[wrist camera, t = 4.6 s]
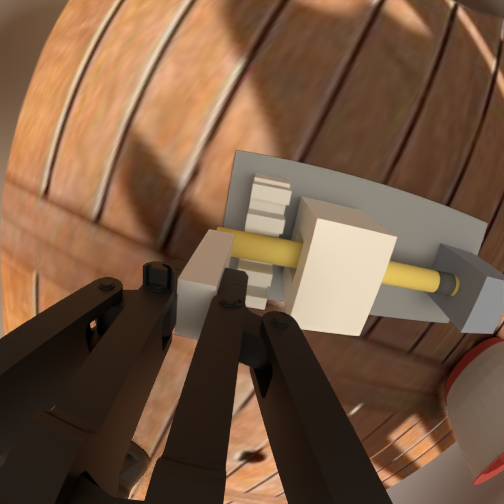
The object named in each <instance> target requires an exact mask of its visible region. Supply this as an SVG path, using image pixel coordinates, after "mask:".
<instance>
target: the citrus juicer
mask: <svg viewBox="0 0 504 504" xmlns="http://www.w3.org/2000/svg"><path fill="white" fill-rule="evenodd" d="M445 400H446V405H447V409H448V415H449V420H450V423H451V427H452V430H453V433H454V435H455V438H456V440H457V442H458V444H459V446H460V449H461V451H462V453H463V455H464V458H465V460H466V462H467V465H468V467H469V470H470V472H471V474H472V477H473V479H474V481H473V484H474V485H477V484H480V483H482V482H484V481H486V480H488V479H490V478H491V477H493V476H495V475H496V474H498V473H499V472H501V471H502V470H504V339H501V338H497V337H493V338H489V339H487V340H485V341H483V342H481V343H480V344H478V345H477V346H475V347H474V348H473V349H471V350H470V351H469V352H467V353H466V354H465V355H464V356H463V357H462V359H461V360H460V361H459V363H458V364H457V365H456V366H455V368H454V369H453V371H452V372H451V374H450V375H449V377H448V379H447V382H446V385H445Z"/></svg>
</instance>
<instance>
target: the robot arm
mask: <svg viewBox="0 0 504 504" xmlns="http://www.w3.org/2000/svg"><path fill="white" fill-rule="evenodd" d="M233 239H234V234H233V233H227V232H222V231H217V230H211V229H209V230H208V232H207V233H206V235H205V237H204V238H203V240H202V241H201V243H200V244H199V246H198V247H197V249H196V251H195V252H194V254H193V255H192V257H191V258H190V260H189V261H185V260H180V259H174V260H172V261H169V262H168V263H165V262H158V261H157V262H149V263H146V264H145V265H143V285H142V286H141V287H140V288H139V290H123V284H122V283H121V281H119V280H118V279H115V278H111V277H105V278H100V279H97V280H95V281H93V282H91V283H90V284H88V285H86V286H85V287H83V288H81V289H79V290H78V291H76V292H74V293H73V294H71V295H69V296H68V297H66V298H64V299H63V300H61V301H59V302H58V303H56V304H54V305H53V306H51V307H49V308H48V309H46V310H44V311H43V312H41V313H40V314H38V315H36V316H35V317H33V318H32V319H30V320H29V321H27V322H25V323H24V324H22V325H21V326H19V327H18V328H16V329H14V330H13V331H11V332H10V333H8V334H7V335H5V336H4V337H2V338H1V339H0V504H223V501H224V492H225V484H226V460H227V452H228V444H229V436H230V428H231V420H232V412H233V404H234V396H235V388H236V380H237V372H238V364H239V362H240V363H243V364H245V365H248V366H250V374H251V378H252V382H253V385H254V389H255V393H256V396H257V400H258V404H259V407H260V411H261V414H262V418H263V421H264V425H265V428H266V432H267V435H268V439H269V442H270V446H271V449H272V453H273V456H274V459H275V463H276V466H277V469H278V473H279V476H280V479H281V482H282V485H283V489H284V492H285V495H286V498H287V501H288V504H393V503H392V501H391V499H390V497H389V495H388V494H387V492H386V490H385V488H384V486H383V484H382V482H381V480H380V478H379V476H378V474H377V472H376V470H375V468H374V467H373V465H372V463H371V461H370V459H369V457H368V455H367V453H366V451H365V449H364V447H363V446H362V444H361V442H360V440H359V438H358V436H357V434H356V432H355V430H354V428H353V426H352V425H351V423H350V421H349V419H348V417H347V415H346V413H345V411H344V409H343V408H342V406H341V404H340V402H339V400H338V398H337V396H336V394H335V392H334V391H333V389H332V387H331V385H330V383H329V381H328V379H327V377H326V375H325V374H324V372H323V370H322V368H321V366H320V364H319V362H318V360H317V359H316V357H315V355H314V353H313V351H312V349H311V347H310V345H309V344H308V342H307V340H306V338H305V336H304V334H303V332H302V330H301V329H300V327H299V325H298V323H297V321H296V320H295V319H294V318H293V317H292V316H290V315H289V314H286V313H284V312H278V311H272V312H268V313H265V314H264V316H263V317H261V316H258V315H256V314H254V313H252V312H251V311H249V310H248V309H247V307H246V304H245V301H246V293H247V285H248V277H249V276H248V275H247V274H246V272H245V271H241V270H236V269H231V268H229V263H230V257H231V251H232V245H233ZM94 320H95V323H96V326H95V327H93V328H91V327H90V323H91V322H92V321H94ZM174 327H175V335H178V336H182V337H187V338H191V339H196V340H198V343H197V346H196V349H195V352H194V355H193V358H192V361H191V364H190V367H189V371H188V374H187V377H186V380H185V383H184V386H183V390H182V393H181V396H180V399H179V403H178V406H177V409H176V412H175V416H174V419H173V422H172V425H171V429H170V432H169V435H168V439H167V442H166V446H165V449H164V452H163V454H162V456H161V457H160V458H158V460H157V462H156V464H155V467H154V470H153V473H152V476H151V480H150V483H149V486H148V490H147V493H146V497H145V500H144V501H140V500H131V499H128V497H129V494H130V491H131V489H132V488H133V486H134V485H135V484H136V483H137V482H138V481H139V479H140V478H141V477H142V476H143V475H144V473H145V472H146V471H147V469H148V465H149V462H150V459H149V456H148V455H147V454H146V453H145V451H143V450H142V449H141V448H140V447H139V446H137V445H136V444H135V443H133V442H132V441H131V440H132V438H133V435H134V432H135V430H136V427H137V425H138V422H139V419H140V417H141V414H142V412H143V409H144V407H145V404H146V402H147V399H148V397H149V394H150V392H151V390H152V387H153V385H154V382H155V380H156V377H157V375H158V373H159V370H160V368H161V365H162V363H163V361H164V358H165V356H166V354H167V351H168V349H169V347H170V344H171V342H172V331H173V329H174ZM54 406H55V407H54ZM53 407H54V408H53ZM52 408H53V409H52ZM51 409H52V411H50V410H51ZM49 411H50V412H49Z"/></svg>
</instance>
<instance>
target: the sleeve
mask: <svg viewBox="0 0 504 504" xmlns="http://www.w3.org/2000/svg"><path fill="white" fill-rule="evenodd" d="M396 239H397V237H396V236H395V235H394V234H392V233H391V232H390V231H388V230H387V229H386V228H384V227H383V226H382V225H380V224H379V223H378V222H376V221H375V220H374V219H372V218H371V217H369V216H368V215H367V214H365V213H364V212H362V211H361V210H358V209H354V208H350V207H346V206H342V205H338V204H333V203H329V202H325V201H321V200H316V199H312V198H307V197H303V196H301V199H300V203H299V208H298V212H297V216H296V221H295V225H294V229H293V233H292V238H291V241H296V242H301V243H303V247H302V251H301V254H300V258H299V262H298V266H297V269H296V268H291V267H285V266H284V270H283V274H282V286H283V294H284V303H285V311H286V314H289V315H290V316H292V317H293V318H294V319H295V320H296V321H297V323H298V325H299V327H300V329H305V330H313V331H320V332H328V333H337V334H345V335H355V336H359V335H360V333H361V331H362V329H363V326H364V324H365V322H366V319H367V317H368V315H369V312H370V310H371V308H372V305H373V303H374V300H375V298H376V295H377V293H378V290H379V288H380V285H381V282H382V280H383V277H384V274H385V272H386V269H387V266H388V263H389V260H390V257H391V255H392V252H393V249H394V246H395V242H396Z"/></svg>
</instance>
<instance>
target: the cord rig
mask: <svg viewBox="0 0 504 504" xmlns="http://www.w3.org/2000/svg"><path fill="white" fill-rule="evenodd" d="M301 196H303V197H307V198H312V199H316V200H321V201H325V202H329V203H333V204H338V205H342V206H346V207H350V208H354V209H358V210H361V211H362V212H364V213H365V214H367V215H368V216H369V217H371V218H372V219H374V220H375V221H376V222H378V223H379V224H380V225H382V226H383V227H384V228H386V229H387V230H388V231H390V232H391V233H392V234H394V235H395V236H396V237H397V239H396V242H395V246H394V249H393V252H392V255H391V257H390V260H389V263H388V266H387V269H386V272H385V274H384V277H383V280H382V282H381V285H380V288H379V290H378V293H377V295H376V298H375V300H374V303H373V305H372V308H371V310H370V312H369V315H377V316H385V317H393V318H402V319H411V320H420V321H430V322H440V323H448V322H449V320H451V321H452V323H453V324H454V325H455V326H456V327H457V328H458V330H459V331H460V332H464V333H485V334H493V332H494V330H495V329H496V327H497V325H498V323H499V321H500V319H501V317H502V315H503V313H504V274H502V273H501V272H500V271H498V270H497V269H495V268H494V267H492V266H491V265H490V264H488V263H487V262H485V261H484V260H482V259H481V258H479V257H478V256H477V255H478V252H479V249H480V246H481V243H482V240H483V237H484V234H485V231H486V228H487V224H488V223H486V222H484V221H481V220H479V219H477V218H474V217H472V216H469V215H467V214H465V213H462V212H460V211H457V210H455V209H452V208H450V207H447V206H444V205H442V204H439V203H436V202H434V201H431V200H428V199H425V198H423V197H420V196H417V195H414V194H411V193H408V192H405V191H402V190H399V189H396V188H393V187H390V186H386V185H383V184H380V183H377V182H373V181H370V180H366V179H363V178H359V177H356V176H352V175H349V174H345V173H341V172H337V171H333V170H330V169H326V168H321V167H317V166H313V165H309V164H305V163H300V162H296V161H291V160H286V159H282V158H277V157H272V156H267V155H261V154H256V153H250V152H245V151H239V150H236V155H235V160H234V166H233V171H232V177H231V183H230V188H229V194H228V200H227V206H226V212H225V218H224V225H223V227H217V231H222V232H227V233H233V234H234V239H233V245H232V251H231V257H230V263H229V268H231V269H236V270H241V271H245V272H246V274H247V275H248V276H249V277H248V285H247V293H246V301H245V304H246V307H252V308H257V309H263V310H264V309H265V305H266V301H267V299H270V300H276V301H282V302H284V294H283V286H282V274H283V270H284V266H285V267H291V268H296V269H297V266H298V262H299V258H300V254H301V251H302V247H303V243H301V242H296V241H291V238H292V233H293V229H294V225H295V221H296V216H297V212H298V208H299V203H300V199H301Z"/></svg>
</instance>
